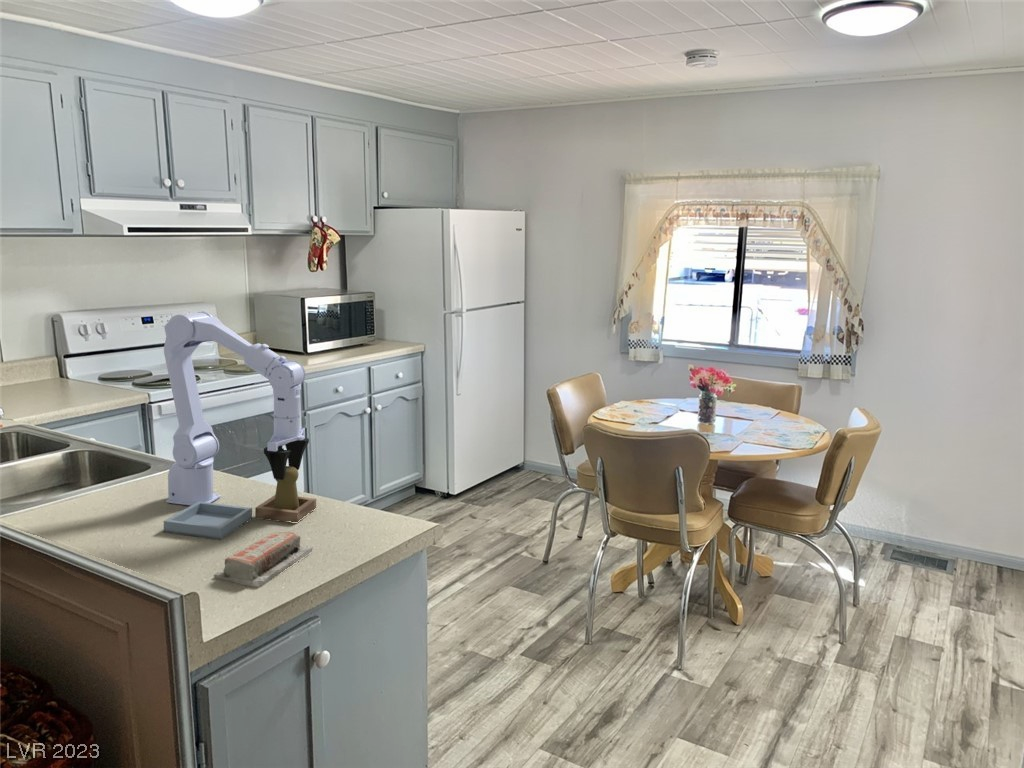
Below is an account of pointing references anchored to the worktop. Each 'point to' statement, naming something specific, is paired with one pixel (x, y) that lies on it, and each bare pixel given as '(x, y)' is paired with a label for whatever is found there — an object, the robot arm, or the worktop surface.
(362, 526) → the worktop surface
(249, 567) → the packaged product
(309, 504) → the frame
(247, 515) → the parts tray
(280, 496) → the cork
